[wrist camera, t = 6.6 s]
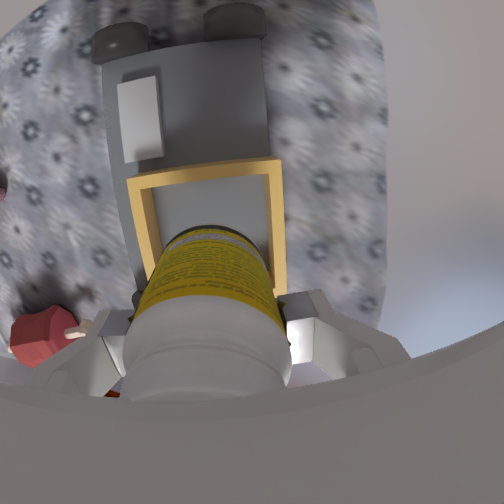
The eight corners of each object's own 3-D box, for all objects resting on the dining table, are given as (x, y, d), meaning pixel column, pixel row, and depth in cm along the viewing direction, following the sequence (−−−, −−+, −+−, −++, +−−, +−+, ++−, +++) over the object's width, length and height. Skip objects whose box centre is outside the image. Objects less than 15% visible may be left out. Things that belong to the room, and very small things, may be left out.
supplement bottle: (148, 229, 12) (56, 373, 4) (258, 212, 12) (318, 351, 4) (174, 321, 14) (147, 480, 6) (269, 308, 14) (311, 468, 6)
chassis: (143, 301, 21) (132, 329, 18) (104, 48, 14) (82, 35, 10) (278, 286, 22) (288, 313, 19) (260, 23, 14) (268, 2, 11)
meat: (80, 285, 20) (66, 336, 16) (112, 322, 23) (105, 370, 19) (1, 311, 20) (-13, 351, 16) (30, 340, 23) (20, 378, 19)
